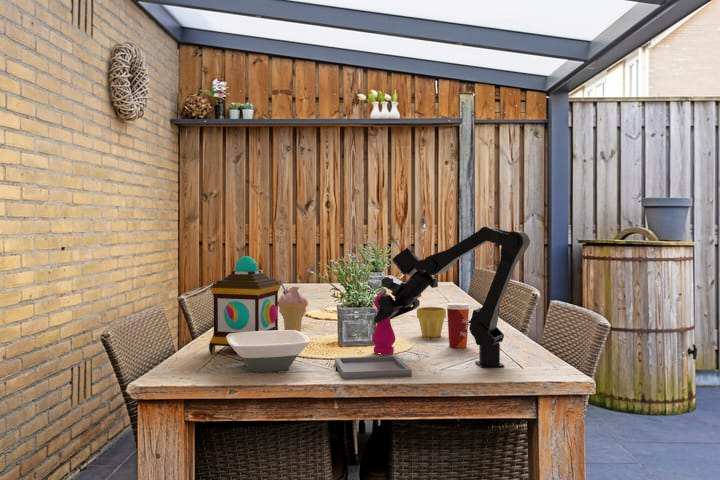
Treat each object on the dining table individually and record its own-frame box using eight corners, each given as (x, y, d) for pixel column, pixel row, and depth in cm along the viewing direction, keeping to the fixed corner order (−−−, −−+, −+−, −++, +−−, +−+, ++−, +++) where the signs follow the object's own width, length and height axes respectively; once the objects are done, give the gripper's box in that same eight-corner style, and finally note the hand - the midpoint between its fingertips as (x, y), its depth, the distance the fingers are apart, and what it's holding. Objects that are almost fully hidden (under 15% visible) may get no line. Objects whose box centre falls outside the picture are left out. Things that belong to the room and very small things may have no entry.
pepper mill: (369, 354, 194) (369, 289, 194) (375, 350, 201) (375, 287, 201) (392, 355, 192) (392, 290, 192) (397, 351, 199) (397, 287, 199)
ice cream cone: (287, 340, 218) (286, 282, 218) (271, 335, 227) (271, 279, 227) (313, 336, 225) (313, 280, 224) (298, 332, 234) (298, 278, 233)
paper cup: (469, 349, 202) (469, 305, 202) (445, 348, 204) (445, 305, 204) (470, 344, 210) (470, 302, 210) (446, 343, 212) (447, 302, 211)
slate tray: (411, 376, 166) (411, 369, 166) (343, 379, 163) (343, 372, 163) (396, 361, 184) (396, 355, 184) (334, 363, 181) (334, 357, 181)
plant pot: (414, 337, 223) (414, 309, 223) (418, 332, 233) (418, 306, 233) (444, 338, 221) (444, 310, 221) (447, 333, 231) (447, 307, 231)
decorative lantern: (287, 346, 207) (287, 254, 207) (262, 358, 188) (262, 257, 188) (232, 343, 213) (232, 253, 212) (202, 354, 194) (201, 256, 193)
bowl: (231, 379, 163) (230, 347, 163) (224, 361, 185) (224, 332, 185) (315, 374, 169) (315, 342, 169) (298, 356, 191) (298, 328, 191)
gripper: (411, 265, 202) (380, 297, 208) (383, 268, 186) (350, 303, 191) (433, 291, 198) (401, 323, 204) (407, 297, 182) (373, 332, 188)
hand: (382, 320), depth 197 cm, fingers open, 9 cm apart
